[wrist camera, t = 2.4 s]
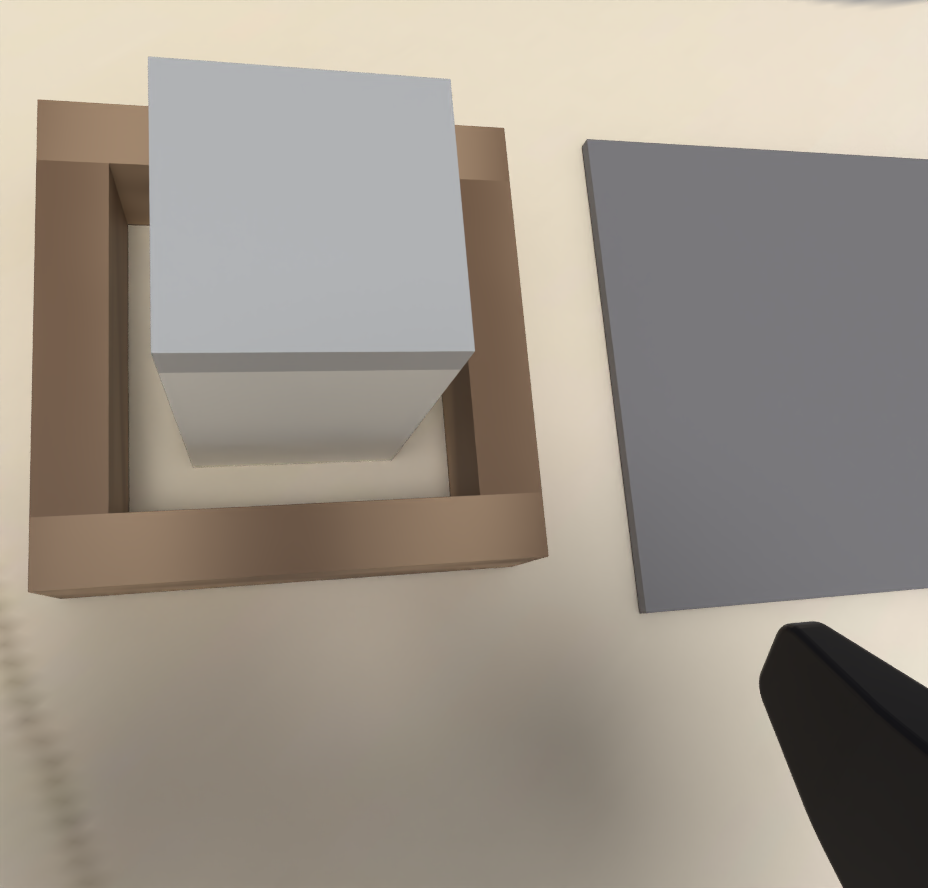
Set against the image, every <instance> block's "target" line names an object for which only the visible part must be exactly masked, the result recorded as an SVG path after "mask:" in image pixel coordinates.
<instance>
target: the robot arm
mask: <svg viewBox="0 0 928 888" xmlns="http://www.w3.org/2000/svg"><path fill="white" fill-rule="evenodd" d="M759 689H760V694H761V698H762V701H763V703H764V706H765V708H766V711H767V713H768V716H769V718H770V721H771V724H772V726H773V729H774V731H775V734H776V736H777V739H778V741H779V744H780V746H781V749H782V752H783V754H784V757H785V759H786V762H787V764H788V767H789V769H790V772H791V774H792V777H793V780H794V782H795V785H796V787H797V790H798V792H799V795H800V797H801V800H802V802H803V805H804V807H805V810H806V812H807V814H808V817H809V819H810V821H811V824H812V826H813V828H814V830H815V832H816V835H817V837H818V839H819V841H820V843H821V845H822V847H823V849H824V851H825V853H826V855H827V857H828V859H829V861H830V863H831V865H832V867H833V869H834V871H835V873H836V875H837V877H838V879H839V881H840V883H841V885H842V887H843V888H928V688H927V687H925V686H923V685H922V684H920V683H919V682H917V681H915V680H914V679H912V678H910V677H909V676H907V675H906V674H904V673H902V672H901V671H899V670H898V669H896V668H894V667H893V666H891V665H889V664H888V663H886V662H885V661H883V660H881V659H880V658H878V657H877V656H875V655H873V654H872V653H870V652H868V651H867V650H865V649H864V648H862V647H860V646H859V645H857V644H856V643H854V642H852V641H851V640H849V639H847V638H846V637H844V636H843V635H841V634H839V633H838V632H836V631H835V630H833V629H831V628H830V627H828V626H826V625H824V624H822V623H820V622H814V621H813V622H801V623H791V624H786V625H784V626H783V627H781V628H780V629H779V631H778V632H777V634H776V637H775V639H774V642H773V644H772V646H771V649H770V651H769V654H768V656H767V659H766V661H765V663H764V666H763V668H762V671H761V673H760V678H759Z"/></svg>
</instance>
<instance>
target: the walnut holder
mask: <svg viewBox="0 0 928 888" xmlns="http://www.w3.org/2000/svg"><path fill="white" fill-rule="evenodd" d="M455 136H456V147H457V158H458V169H459V180H460V191H461V202H462V213H463V224H464V235H465V246H466V257H467V268H468V279H469V290H470V301H471V312H472V324H473V335H474V346H475V352H474V353H473V354H472V356H471V357H470V358H469V360H468V361H467V362H466V364H465V365H464V366H463V368H462V369H461V370H460V371H459V373H458V374H457V375H456V377H455V378H454V379H453V381H452V382H451V383H450V385H449V386H448V387H447V388H446V390H445V391H444V392H443V394H442V400H443V412H444V424H445V436H446V449H447V461H448V473H449V485H450V497H435V498H415V499H394V500H374V501H353V502H333V503H313V504H292V505H272V506H251V507H231V508H211V509H190V510H170V511H149V512H129V416H128V224H135V225H150V203H149V106H135V105H119V104H102V103H86V102H70V101H53V100H38V108H37V159H36V209H35V260H34V310H33V361H32V411H31V462H30V512H29V563H28V592H30V593H35V594H40V595H45V596H50V597H55V598H60V599H62V598H76V597H90V596H105V595H119V594H133V593H147V592H161V591H175V590H189V589H203V588H217V587H231V586H245V585H260V584H274V583H288V582H302V581H316V580H330V579H344V578H358V577H372V576H386V575H400V574H414V573H429V572H443V571H457V570H471V569H485V568H499V567H512V566H515V565H519V564H523V563H526V562H530V561H533V560H537V559H541V558H544V557H548V547H547V537H546V528H545V518H544V508H543V499H542V489H541V480H540V470H539V460H538V451H537V441H536V431H535V422H534V412H533V402H532V393H531V383H530V373H529V364H528V354H527V344H526V335H525V325H524V316H523V306H522V296H521V287H520V277H519V267H518V258H517V248H516V238H515V229H514V219H513V209H512V200H511V190H510V181H509V171H508V161H507V152H506V142H505V132H504V128H494V127H478V126H462V125H455Z"/></svg>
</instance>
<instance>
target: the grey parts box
mask: <svg viewBox="0 0 928 888" xmlns="http://www.w3.org/2000/svg"><path fill="white" fill-rule="evenodd" d="M148 100H149V203H150V305H151V355H152V357H153V360H154V363H155V365H156V368H157V371H158V374H159V376H160V379H161V382H162V384H163V387H164V390H165V393H166V395H167V398H168V401H169V404H170V406H171V409H172V412H173V414H174V417H175V420H176V423H177V425H178V428H179V431H180V433H181V436H182V439H183V442H184V444H185V447H186V450H187V452H188V455H189V458H190V461H191V463H192V466H193V468H198V467H224V466H251V465H278V464H304V463H331V462H358V461H384V460H392V459H393V458H394V456H395V455H396V454H397V452H398V451H399V450H400V448H401V447H402V446H403V445H404V443H405V442H406V441H407V439H408V438H409V437H410V435H411V434H412V433H413V431H414V430H415V429H416V428H417V426H418V425H419V424H420V422H421V421H422V420H423V418H424V417H425V416H426V415H427V413H428V412H429V411H430V409H431V408H432V407H433V405H434V404H435V403H436V401H437V400H438V399H439V398H440V396H441V395H442V394H443V392H444V391H445V390H446V388H447V387H448V386H449V385H450V383H451V382H452V381H453V379H454V378H455V377H456V375H457V374H458V373H459V371H460V370H461V369H462V368H463V366H464V365H465V364H466V362H467V361H468V360H469V358H470V357H471V356H472V354H473V353H474V352H475V346H474V335H473V324H472V312H471V301H470V290H469V279H468V268H467V257H466V246H465V235H464V224H463V213H462V202H461V191H460V180H459V169H458V158H457V147H456V136H455V125H454V114H453V103H452V91H451V80H450V79H441V78H427V77H414V76H401V75H387V74H374V73H360V72H347V71H334V70H320V69H307V68H294V67H280V66H267V65H254V64H240V63H227V62H214V61H200V60H187V59H174V58H160V57H148Z"/></svg>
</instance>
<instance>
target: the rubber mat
mask: <svg viewBox="0 0 928 888" xmlns="http://www.w3.org/2000/svg"><path fill="white" fill-rule="evenodd" d="M582 149H583V157H584V165H585V173H586V182H587V190H588V198H589V206H590V214H591V222H592V230H593V238H594V246H595V254H596V262H597V270H598V279H599V287H600V295H601V303H602V311H603V319H604V327H605V335H606V343H607V351H608V359H609V367H610V376H611V384H612V392H613V400H614V408H615V416H616V424H617V432H618V440H619V448H620V456H621V464H622V472H623V481H624V489H625V497H626V505H627V513H628V521H629V529H630V537H631V545H632V553H633V561H634V569H635V578H636V586H637V594H638V602H639V610H640V613H652V612H663V611H675V610H686V609H697V608H709V607H720V606H731V605H742V604H754V603H765V602H776V601H788V600H799V599H810V598H821V597H833V596H844V595H855V594H867V593H878V592H889V591H900V590H912V589H923V588H928V159H912V158H895V157H878V156H861V155H844V154H827V153H811V152H794V151H777V150H760V149H743V148H726V147H710V146H693V145H676V144H659V143H642V142H625V141H608V140H592V139H587V140H586V142H585V143H584V145H583V146H582Z"/></svg>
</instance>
